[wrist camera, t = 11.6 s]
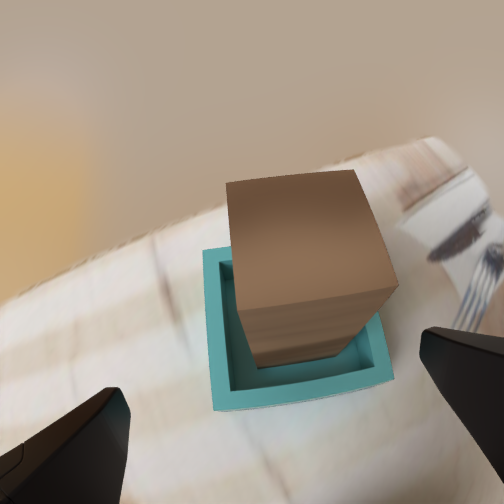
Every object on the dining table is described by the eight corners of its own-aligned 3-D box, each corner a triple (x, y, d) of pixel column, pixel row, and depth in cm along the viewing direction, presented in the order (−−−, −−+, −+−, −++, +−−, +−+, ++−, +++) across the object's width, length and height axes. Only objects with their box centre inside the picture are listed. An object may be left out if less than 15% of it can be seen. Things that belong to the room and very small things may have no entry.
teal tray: (375, 386, 17) (394, 379, 14) (223, 411, 17) (213, 410, 14) (343, 256, 23) (353, 230, 20) (212, 274, 23) (202, 250, 20)
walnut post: (335, 356, 18) (398, 285, 9) (257, 369, 18) (236, 310, 9) (321, 286, 21) (353, 169, 11) (248, 296, 21) (225, 183, 11)
